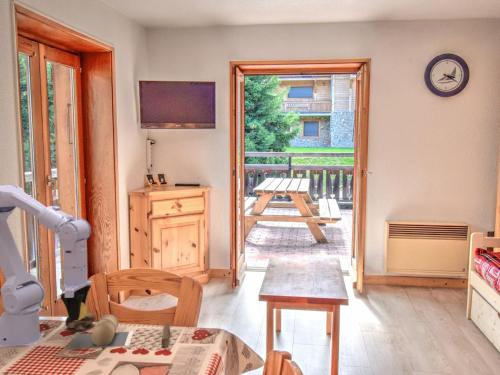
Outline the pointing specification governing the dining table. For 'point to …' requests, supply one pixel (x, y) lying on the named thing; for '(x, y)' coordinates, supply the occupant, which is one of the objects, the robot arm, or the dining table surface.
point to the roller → (104, 330)
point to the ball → (82, 311)
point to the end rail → (165, 335)
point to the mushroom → (80, 322)
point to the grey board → (87, 342)
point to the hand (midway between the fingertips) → (76, 316)
